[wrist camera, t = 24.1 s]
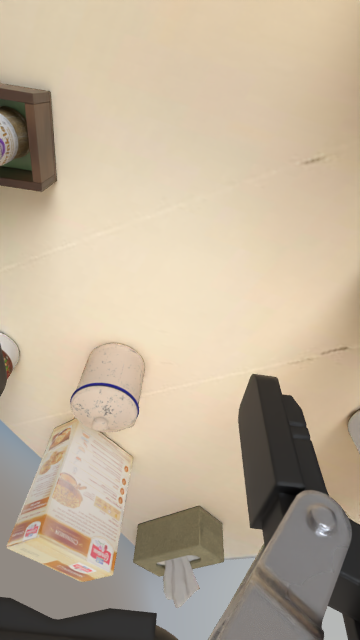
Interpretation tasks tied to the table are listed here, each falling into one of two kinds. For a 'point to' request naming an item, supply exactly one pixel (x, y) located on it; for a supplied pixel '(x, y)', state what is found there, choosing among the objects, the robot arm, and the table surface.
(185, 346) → the table surface
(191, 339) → the table surface
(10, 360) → the milk bottle
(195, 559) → the tissue box
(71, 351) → the table surface
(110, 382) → the teacup with lid
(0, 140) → the sprinkles bottle
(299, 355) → the table surface
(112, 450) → the coffeecake box
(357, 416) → the plastic bottle
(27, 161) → the holder
